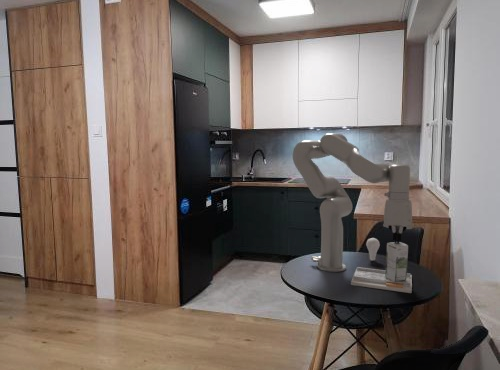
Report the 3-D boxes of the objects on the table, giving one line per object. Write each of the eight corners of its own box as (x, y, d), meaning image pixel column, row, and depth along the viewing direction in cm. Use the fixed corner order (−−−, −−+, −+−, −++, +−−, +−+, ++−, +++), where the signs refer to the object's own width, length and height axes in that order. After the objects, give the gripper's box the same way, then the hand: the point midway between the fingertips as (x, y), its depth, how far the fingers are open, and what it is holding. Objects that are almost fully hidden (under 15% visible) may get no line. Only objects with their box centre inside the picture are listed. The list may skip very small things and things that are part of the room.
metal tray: (353, 279, 149) (353, 276, 149) (357, 270, 161) (357, 267, 161) (410, 287, 141) (410, 283, 141) (410, 276, 153) (410, 273, 152)
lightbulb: (363, 259, 181) (364, 236, 180) (375, 258, 181) (376, 236, 180) (368, 262, 175) (369, 239, 174) (381, 262, 175) (382, 239, 174)
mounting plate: (350, 284, 147) (350, 279, 147) (356, 270, 164) (356, 266, 163) (411, 293, 138) (411, 288, 138) (411, 277, 155) (411, 272, 155)
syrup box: (396, 275, 153) (397, 241, 151) (407, 280, 147) (408, 244, 146) (385, 277, 151) (386, 242, 149) (395, 282, 145) (396, 245, 144)
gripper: (377, 196, 145) (376, 242, 147) (419, 198, 139) (417, 246, 141) (379, 194, 152) (377, 238, 154) (419, 196, 146) (417, 242, 148)
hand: (396, 242), depth 147 cm, fingers closed
